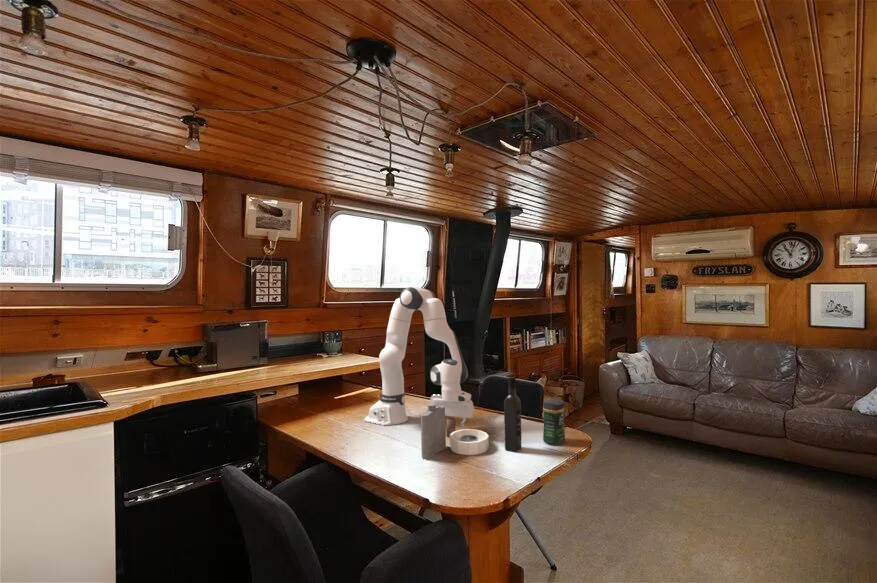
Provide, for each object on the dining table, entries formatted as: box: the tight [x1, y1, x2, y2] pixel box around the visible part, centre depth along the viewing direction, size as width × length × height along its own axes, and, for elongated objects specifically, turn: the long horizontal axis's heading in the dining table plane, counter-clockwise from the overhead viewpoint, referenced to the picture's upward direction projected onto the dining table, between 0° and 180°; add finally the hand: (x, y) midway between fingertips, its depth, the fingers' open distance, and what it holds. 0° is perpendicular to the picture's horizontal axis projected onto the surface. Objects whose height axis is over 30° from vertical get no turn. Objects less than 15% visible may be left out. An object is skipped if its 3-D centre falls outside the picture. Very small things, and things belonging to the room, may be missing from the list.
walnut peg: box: [445, 416, 456, 439], centre depth 192 cm, size 4×4×8 cm
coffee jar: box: [542, 397, 566, 446], centre depth 182 cm, size 10×8×19 cm
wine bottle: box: [503, 376, 522, 453], centre depth 175 cm, size 6×6×30 cm
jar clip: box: [460, 435, 478, 442], centre depth 178 cm, size 7×7×3 cm
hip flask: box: [420, 402, 447, 460], centre depth 174 cm, size 16×4×20 cm, turn 148°
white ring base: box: [449, 428, 490, 456], centre depth 178 cm, size 16×16×5 cm
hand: (452, 425), depth 192 cm, fingers open, 8 cm apart
